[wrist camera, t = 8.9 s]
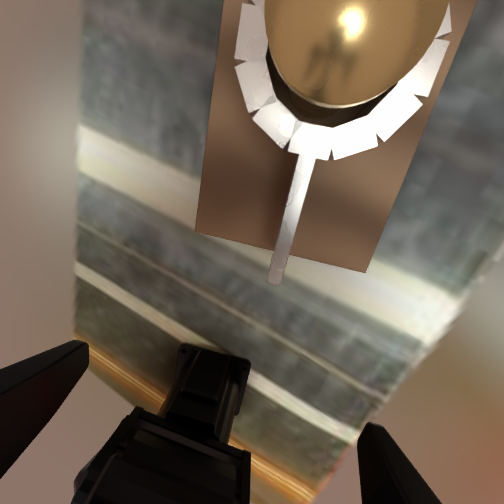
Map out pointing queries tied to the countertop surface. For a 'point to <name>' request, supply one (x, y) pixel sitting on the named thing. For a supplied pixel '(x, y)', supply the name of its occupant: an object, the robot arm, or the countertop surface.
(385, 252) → the countertop surface
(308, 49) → the hinge pin
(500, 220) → the countertop surface
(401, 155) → the walnut board
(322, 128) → the hinge
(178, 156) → the countertop surface
